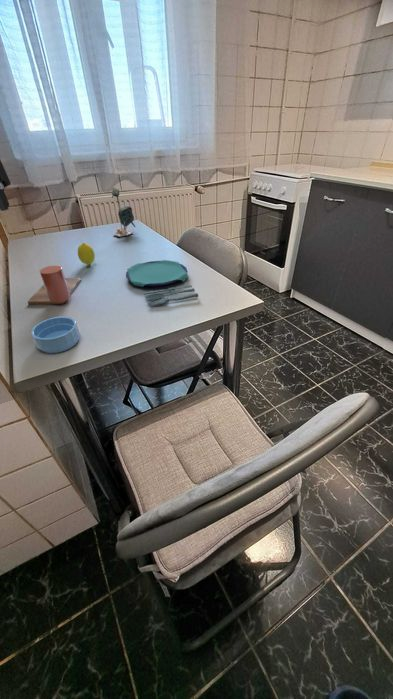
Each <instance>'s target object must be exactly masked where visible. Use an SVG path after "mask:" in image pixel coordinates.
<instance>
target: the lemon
mask: <svg viewBox="0 0 393 699" xmlns="http://www.w3.org/2000/svg"><path fill="white" fill-rule="evenodd" d="M77 257H78V259H79V260H80V262H81V263H83V264H84V265H87V266H91V264H93V263H94V261H95V258H96V255H95V251H94V249H93V247H92V246H91V245H90V244H88V243H85V242H82V243H81V244H79V246H78V248H77Z"/></svg>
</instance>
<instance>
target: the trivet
mask: <svg viewBox="0 0 393 699" xmlns="http://www.w3.org/2000/svg"><path fill="white" fill-rule="evenodd" d="M65 280H66V283H67V286H68V289H69V293H70V296H71V295H72V294H73V293H74V291H75V290H76V289H77V287H78V286H79V285H80V284H81V282H82V278H81V277H65ZM66 302H67V300H66V301H64V302H59V303H54V302H51V301H50V299H49V297H48V294H47V291H46V288H45V286H44V284H43V285H42V287H40V288H39V289H38V290H37V291H36V292H35V293H34V294H33V295H32V296H31V297H30V299H29V300H28V301H27V304H28V305H29V306H34V305H35V306H36V305H37V306H38V305H64V304H65V303H66Z"/></svg>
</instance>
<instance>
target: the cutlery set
mask: <svg viewBox="0 0 393 699" xmlns="http://www.w3.org/2000/svg"><path fill="white" fill-rule="evenodd" d="M126 270H127V271H126V272H125V278H126V279H127V280H128V282H131V284H132V285H134V286H137V287H142V288H143V287H144V286H145V287H146V286H148V287H158V286H159V287H160V286H165V285H170V284H173V283H176V282H178V281H179V282H180V281H182V283H184V282H185V281H186V280H187V279H188V269H187V267H186V266H185V265H183V264H182V263H180V261H175V260H167V259H163V260H154V261H153V260H152V261H146V262H140V263H136V264H134V265H131V266H130V267H128V268H127V269H126ZM192 287H193V286H192V285H187V286H178V287H173V286H172V287H168V288H165V289H155V290H150V291H146V292H144V293H143V295H144V296H145V300H149V301H150V302H147V306H150V307H151V306H152V307H153V306H156V305H158V306H159V305H166V304H169V303H170V302H174V301H183V300H188V299H194V298H198V297H199V293H195V290H196V289H195V288H194V287H193V288H192ZM186 288H187V289H186ZM179 289H181V290H179ZM182 289H183V290H182ZM176 290H179V291H176ZM171 291H174V292H171ZM164 292H165V293H166V292H168V293H167V294H165V293H164ZM193 292H194V293H193ZM185 293H193V294H188V295H184V296H179V297H172V298H171V297H170V298H169V296H174V295H177V294H185ZM165 297H166V298H165Z"/></svg>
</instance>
